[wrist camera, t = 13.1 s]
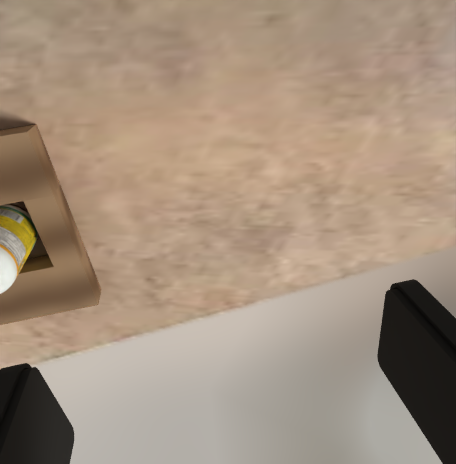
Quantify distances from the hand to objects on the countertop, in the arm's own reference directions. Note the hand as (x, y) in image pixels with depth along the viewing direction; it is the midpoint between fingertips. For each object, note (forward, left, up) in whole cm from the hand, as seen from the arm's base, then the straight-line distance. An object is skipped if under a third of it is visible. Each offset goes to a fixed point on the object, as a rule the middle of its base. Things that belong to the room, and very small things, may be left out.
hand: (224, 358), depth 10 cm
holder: (+7, -17, -26) cm, 32 cm away
